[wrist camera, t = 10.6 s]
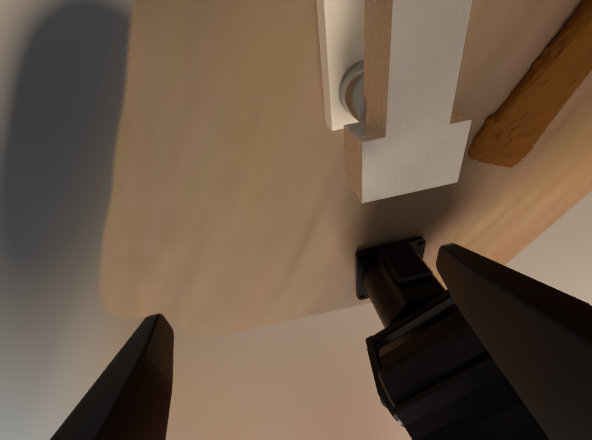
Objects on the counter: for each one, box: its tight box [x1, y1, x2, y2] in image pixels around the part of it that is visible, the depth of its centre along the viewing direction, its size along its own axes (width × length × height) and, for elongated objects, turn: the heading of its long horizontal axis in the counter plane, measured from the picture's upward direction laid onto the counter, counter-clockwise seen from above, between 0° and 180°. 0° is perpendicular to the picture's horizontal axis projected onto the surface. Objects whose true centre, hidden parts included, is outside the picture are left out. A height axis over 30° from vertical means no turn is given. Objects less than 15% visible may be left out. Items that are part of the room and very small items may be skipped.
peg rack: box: [316, 0, 365, 131], centre depth 13 cm, size 12×4×5 cm, turn 8°
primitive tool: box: [468, 0, 592, 167], centre depth 17 cm, size 19×6×4 cm, turn 165°
